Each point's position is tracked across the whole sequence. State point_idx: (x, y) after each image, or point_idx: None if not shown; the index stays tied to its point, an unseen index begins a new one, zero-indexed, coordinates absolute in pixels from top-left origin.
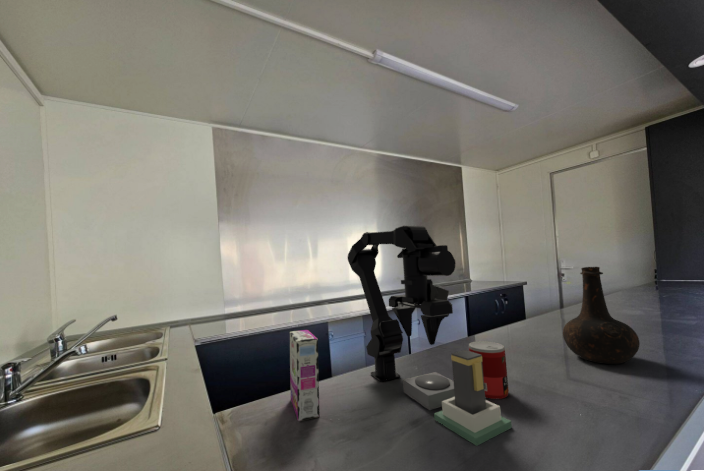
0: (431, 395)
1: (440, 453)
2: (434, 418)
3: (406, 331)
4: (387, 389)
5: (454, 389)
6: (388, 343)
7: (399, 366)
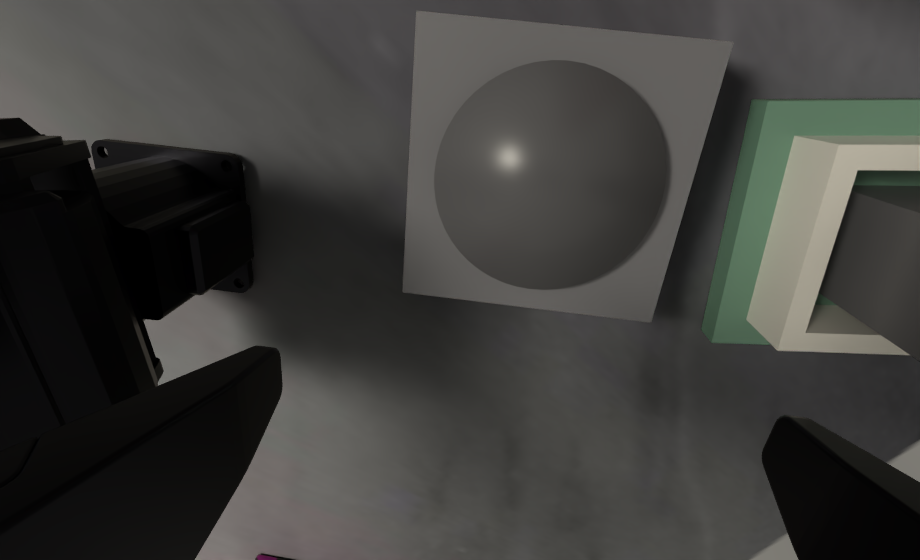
0: (654, 301)
1: None
2: (704, 332)
3: (251, 457)
4: (344, 307)
5: (899, 345)
6: (128, 387)
7: (44, 21)
